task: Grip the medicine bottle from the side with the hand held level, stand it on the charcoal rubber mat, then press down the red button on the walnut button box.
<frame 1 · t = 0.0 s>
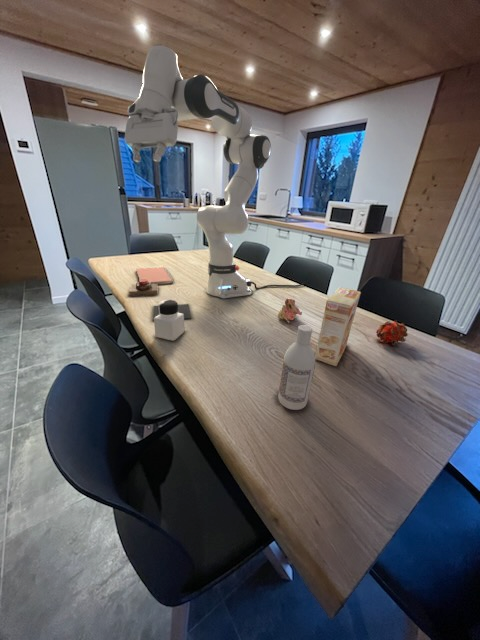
hand: (146, 161, 80), 52 cm above the table, tool tilted 20°, fingers open, 8 cm apart
button: (143, 282, 123), point 5 cm above the table, slide at 0.1 cm
notebook: (154, 277, 146), on the table
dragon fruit: (387, 342, 93), on the table
button box: (144, 291, 125), on the table
medicine bottle: (170, 334, 90), on the table
coffeecake box: (331, 352, 85), on the table
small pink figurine: (290, 319, 106), on the table
bath foam: (292, 401, 64), on the table
mat: (171, 312, 106), on the table
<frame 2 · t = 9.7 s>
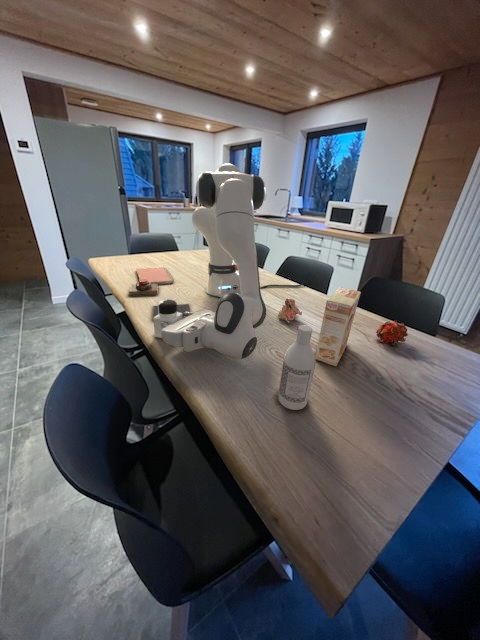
hand: (173, 318, 87), 6 cm above the table, tool horizontal, fingers open, 8 cm apart
medicine bottle: (169, 334, 90), on the table, touching gripper
everything else where it was.
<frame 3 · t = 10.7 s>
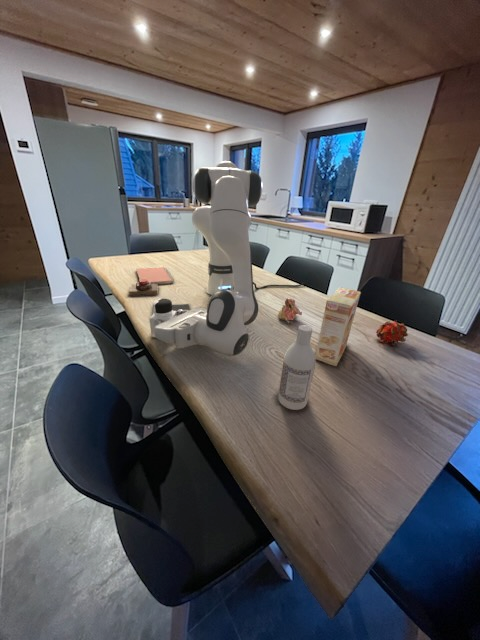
hand: (167, 316, 88), 7 cm above the table, tool horizontal, fingers closed on medicine bottle, 8 cm apart
medicine bottle: (165, 333, 91), on the table, touching gripper
everything else where it was.
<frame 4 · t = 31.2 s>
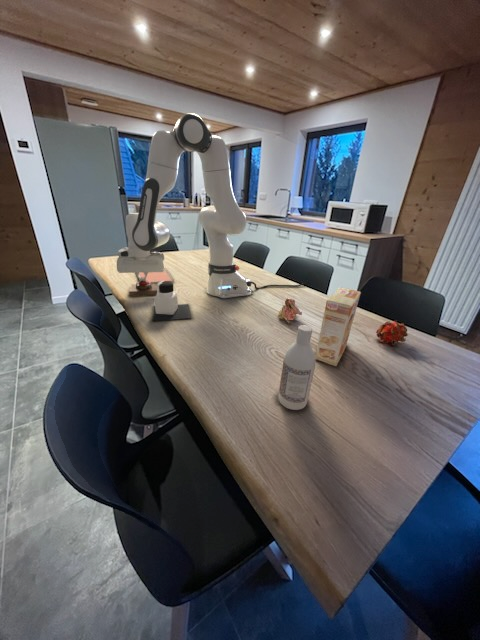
hand: (142, 281, 123), 5 cm above the table, tool pointing down, fingers closed, pressing on button
button: (143, 283, 124), point 4 cm above the table, slide at -0.4 cm, touching gripper
medicine bottle: (167, 311, 106), resting on mat
everything else where it was.
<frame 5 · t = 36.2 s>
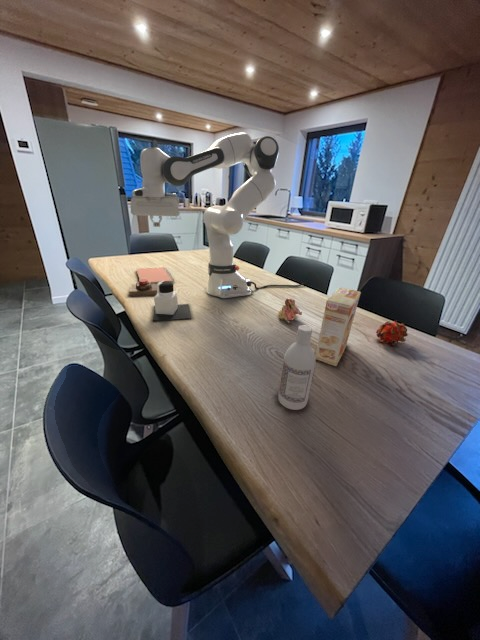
hand: (156, 226, 118), 29 cm above the table, tool pointing down, fingers closed
button: (143, 282, 123), point 5 cm above the table, slide at 0.1 cm
everything else where it was.
at the end: medicine bottle inside the target area on the mat (2.1 cm from its centre), point 0.2 cm above the mat's base; medicine bottle tilted 0°; button pushed in 1.1 cm at the most during the clip, back to where it started at the end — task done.
